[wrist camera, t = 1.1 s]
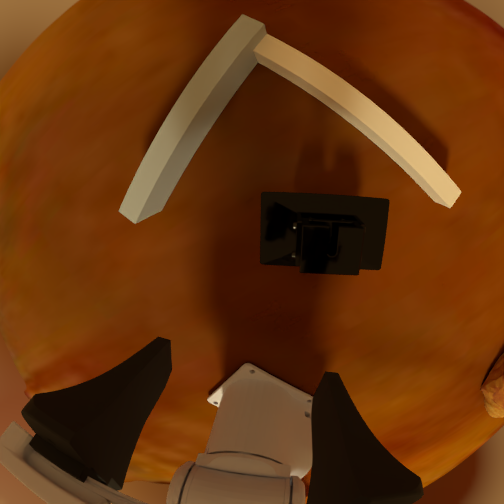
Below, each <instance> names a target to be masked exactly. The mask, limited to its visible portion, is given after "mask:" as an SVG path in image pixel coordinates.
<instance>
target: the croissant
mask: <svg viewBox="0 0 504 504" xmlns="http://www.w3.org/2000/svg"><path fill="white" fill-rule="evenodd" d="M480 390H481V391H482V392H483V394H484V396H485V398H484V403H485V408H486V410H487V412H488V414H489V415H490V416H491V417H493V418H499V417H501V418H502V417H504V353H503V354H502V355H501V356H500V357H499V359H498V360H497V362H496V363H495V364H494V366H493V368H492V370H491V371H490V372H489V375H488V377H487V379H486V380H485V382H484V383H483V385H482V387H481V389H480Z"/></svg>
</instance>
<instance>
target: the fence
mask: <svg viewBox="0 0 504 504" xmlns="http://www.w3.org/2000/svg"><path fill="white" fill-rule="evenodd" d="M257 63H260V64H262V65H263V66H265V67H267V68H269V69H270V70H272V71H274V72H276V73H277V74H279V75H281V76H282V77H284V78H286V79H287V80H289V81H291V82H292V83H294V84H295V85H297V86H299V87H300V88H302V89H303V90H305V91H306V92H308V93H309V94H311V95H312V96H314V97H315V98H317V99H318V100H319V101H321V102H322V103H324V104H325V105H327V106H328V107H329V108H331V109H332V110H333V111H335V112H336V113H338V114H339V115H340V116H342V117H343V118H344V119H345V120H347V121H348V122H349V123H351V124H352V125H353V126H354V127H356V128H357V129H358V130H359V131H361V132H362V133H363V134H364V135H365V136H367V137H368V138H369V139H370V140H371V141H373V142H374V143H375V144H376V145H377V146H378V147H380V148H381V149H382V150H383V151H384V152H385V153H386V154H387V155H388V156H390V157H391V158H392V159H393V160H394V161H395V162H396V163H397V164H398V165H399V166H400V167H401V168H402V169H403V170H404V171H405V172H406V173H408V174H409V175H410V176H411V177H412V178H413V179H414V180H415V182H416V183H417V184H418V185H419V186H420V187H421V188H422V189H423V190H424V191H425V192H426V193H427V194H428V195H429V196H430V197H431V198H432V200H433V201H434V202H437V203H439V204H441V205H444V206H446V207H448V208H451V207H452V205H453V204H454V202H455V201H456V199H457V198H458V197H459V195H460V194H461V191H460V189H459V188H458V187H457V186H456V184H455V183H454V182H453V181H452V180H451V178H450V177H449V176H448V175H447V174H446V173H445V171H444V170H443V169H442V168H441V167H440V166H439V165H438V164H437V162H436V161H435V160H434V159H433V158H432V157H431V156H430V155H429V154H428V153H427V152H426V151H425V150H424V149H423V148H422V146H421V145H420V144H419V143H418V142H417V141H416V140H415V139H414V138H413V137H411V136H410V135H409V134H408V133H407V132H406V131H405V130H404V129H403V128H402V127H401V126H400V125H399V124H398V123H397V122H395V121H394V120H393V119H392V118H391V117H390V116H389V115H388V114H386V113H385V112H384V111H383V110H382V109H381V108H379V107H378V106H377V105H376V104H375V103H373V102H372V101H371V100H370V99H368V98H367V97H366V96H365V95H363V94H362V93H361V92H359V91H358V90H357V89H355V88H354V87H353V86H351V85H350V84H349V83H347V82H346V81H344V80H343V79H342V78H340V77H339V76H337V75H336V74H334V73H333V72H332V71H330V70H329V69H327V68H326V67H324V66H322V65H321V64H319V63H318V62H316V61H315V60H313V59H311V58H310V57H308V56H306V55H305V54H303V53H301V52H300V51H298V50H296V49H295V48H293V47H291V46H289V45H287V44H286V43H284V42H282V41H280V40H278V39H276V38H274V37H272V36H270V35H268V34H267V32H266V28H265V25H264V24H263V23H261V22H259V21H257V20H255V19H252V18H250V17H248V16H245V15H243V14H242V15H241V16H240V17H239V19H238V20H237V21H236V22H235V23H234V24H233V25H232V27H231V28H230V29H229V30H228V31H227V33H226V34H225V35H224V36H223V37H222V39H221V40H220V41H219V42H218V44H217V45H216V46H215V48H214V49H213V50H212V51H211V53H210V54H209V55H208V57H207V58H206V59H205V61H204V62H203V63H202V65H201V66H200V68H199V69H198V70H197V72H196V73H195V75H194V76H193V77H192V79H191V80H190V82H189V83H188V85H187V86H186V88H185V89H184V91H183V92H182V94H181V95H180V97H179V98H178V100H177V101H176V103H175V105H174V106H173V108H172V109H171V111H170V113H169V114H168V116H167V118H166V119H165V121H164V123H163V124H162V126H161V128H160V130H159V131H158V133H157V135H156V137H155V138H154V140H153V142H152V144H151V146H150V147H149V149H148V151H147V153H146V155H145V157H144V159H143V161H142V163H141V165H140V167H139V169H138V171H137V173H136V175H135V177H134V179H133V181H132V183H131V185H130V187H129V189H128V191H127V194H126V196H125V198H124V200H123V202H122V205H121V207H120V209H119V212H120V213H121V214H123V215H124V216H125V217H127V218H128V219H129V220H131V221H132V222H133V223H135V224H136V223H138V222H140V221H142V220H144V219H146V218H148V217H150V216H152V215H154V214H156V213H158V212H160V211H162V209H163V207H164V205H165V204H166V202H167V200H168V198H169V196H170V194H171V193H172V191H173V189H174V187H175V186H176V184H177V182H178V180H179V179H180V177H181V175H182V173H183V172H184V170H185V168H186V167H187V165H188V163H189V162H190V160H191V158H192V157H193V155H194V154H195V152H196V150H197V149H198V147H199V146H200V144H201V142H202V141H203V139H204V138H205V136H206V135H207V133H208V132H209V130H210V128H211V127H212V125H213V124H214V122H215V121H216V119H217V118H218V117H219V115H220V114H221V112H222V111H223V109H224V108H225V106H226V105H227V103H228V102H229V101H230V99H231V98H232V96H233V95H234V94H235V92H236V91H237V90H238V88H239V87H240V85H241V84H242V83H243V81H244V80H245V79H246V77H247V76H248V75H249V73H250V72H251V71H252V70H253V68H254V67H255V66H256V64H257Z"/></svg>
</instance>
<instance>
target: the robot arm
mask: <svg viewBox="0 0 504 504" xmlns="http://www.w3.org/2000/svg"><path fill="white" fill-rule="evenodd" d="M252 370H254V371H252ZM171 371H172V362H171V342H170V340H168V339H165V338H161V337H157V338H156V339H155V340H153V341H152V342H151V343H149V344H148V345H147V346H145V347H144V348H143V349H141V350H140V351H138V352H137V353H136V354H134V355H133V356H131V357H130V358H128V359H127V360H126V361H124V362H122V363H121V364H119V365H118V366H116V367H114V368H113V369H111V370H109V371H107V372H106V373H104V374H102V375H100V376H98V377H96V378H93V379H91V380H89V381H86V382H84V383H81V384H78V385H76V386H72V387H69V388H66V389H62V390H58V391H53V392H47V393H40V394H35V395H34V396H33V397H32V399H31V400H30V401H29V402H28V403H27V405H26V406H25V407H24V408H23V410H22V411H21V413H22V416H23V417H24V419H25V420H26V422H27V423H28V424H29V426H30V427H31V428H32V430H34V432H35V433H36V434H35V436H34V437H32V436H31V435H30V434H29V433H28V432H27V431H25V430H24V429H23V428H22V427H21V426H19V425H18V424H17V423H16V422H15V421H13V422H12V423H11V424H10V426H9V427H8V428H7V429H6V431H5V432H4V433H3V435H2V436H1V437H0V463H1V464H2V465H3V466H4V467H5V468H6V469H7V470H9V471H10V472H11V473H12V474H13V475H14V476H15V477H16V478H18V480H19V481H21V482H22V483H23V484H24V485H25V486H26V487H27V488H29V489H30V490H31V491H32V492H33V493H35V494H36V495H37V496H38V497H40V498H41V499H42V500H44V501H45V502H46V503H48V504H110V503H112V504H147V503H144V502H141V501H139V500H137V499H134V498H131V497H130V496H127V495H125V494H123V493H120V492H118V491H117V490H121V489H122V487H123V483H124V480H125V476H126V473H127V469H128V466H129V463H130V460H131V457H132V454H133V451H134V449H135V446H136V443H137V441H138V438H139V436H140V433H141V431H142V428H143V426H144V424H145V422H146V420H147V418H148V416H149V415H150V413H151V411H152V409H153V408H154V406H155V404H156V402H157V401H158V399H159V397H160V395H161V393H162V392H163V390H164V388H165V386H166V383H167V381H168V379H169V376H170V373H171ZM207 400H208V402H210V403H212V404H213V405H215V406H217V407H219V408H218V411H217V414H216V417H215V421H214V424H213V427H212V430H211V434H210V437H209V440H208V443H207V446H206V450H205V453H204V454H203V453H199V454H198V457H197V460H196V462H192V461H188V462H186V463H185V464H184V465H182V466H180V467H179V468H178V469H177V471H176V472H175V474H174V476H173V478H172V480H171V483H170V486H169V490H168V494H167V501H166V504H305V485H304V482H303V481H302V480H301V478H303V477H304V476H305V475H306V474H307V473H308V471H309V470H310V468H311V466H312V470H311V479H310V486H309V493H308V499H307V504H412V503H414V502H416V501H417V500H419V499H420V498H421V497H422V496H423V495H424V494H423V487H422V482H421V478H420V477H419V476H417V475H416V474H414V473H413V472H412V471H410V470H409V469H407V468H406V467H405V466H404V465H402V464H401V463H400V462H399V461H398V460H397V459H395V458H394V457H393V456H392V455H391V454H390V453H389V452H388V451H387V450H386V448H385V447H384V446H383V445H382V444H381V443H380V442H379V441H378V440H377V438H376V437H375V436H374V434H373V433H372V432H371V430H370V429H369V428H368V426H367V425H366V423H365V422H364V420H363V419H362V417H361V415H360V414H359V412H358V410H357V409H356V407H355V405H354V403H353V402H352V400H351V398H350V396H349V394H348V392H347V390H346V388H345V386H344V384H343V382H342V380H341V378H340V376H339V374H338V373H334V372H325V373H324V375H323V377H322V380H321V382H320V384H319V386H318V388H317V390H316V392H315V394H314V396H311V395H309V394H307V393H305V392H303V391H301V390H299V389H297V388H295V387H293V386H291V385H289V384H287V383H285V382H283V381H281V380H279V379H278V378H276V377H274V376H272V375H270V374H268V373H267V372H265V371H263V370H261V369H259V368H258V367H256V366H254V365H252V364H250V363H245V364H244V365H242V366H241V367H240V368H239V369H238V370H237V371H236V372H235V373H234V374H233V375H232V376H231V377H230V378H229V379H227V380H226V381H225V382H224V383H223V384H222V385H221V386H220V387H219V388H218V389H216V390H215V391H214V392H213V393H212V394H211V395H210V396H209V397H208V399H207Z"/></svg>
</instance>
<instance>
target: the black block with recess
mask: <svg viewBox="0 0 504 504" xmlns="http://www.w3.org/2000/svg"><path fill="white" fill-rule="evenodd" d="M388 211H389V200H388V199H383V198H372V197H360V196H346V195H331V194H312V193H288V192H262V193H261V241H260V263H261V264H264V265H283V266H299V268H300V273H314V274H338V275H359V269H365V270H380V269H381V264H382V257H383V251H384V244H385V237H386V229H387V220H388Z"/></svg>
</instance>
